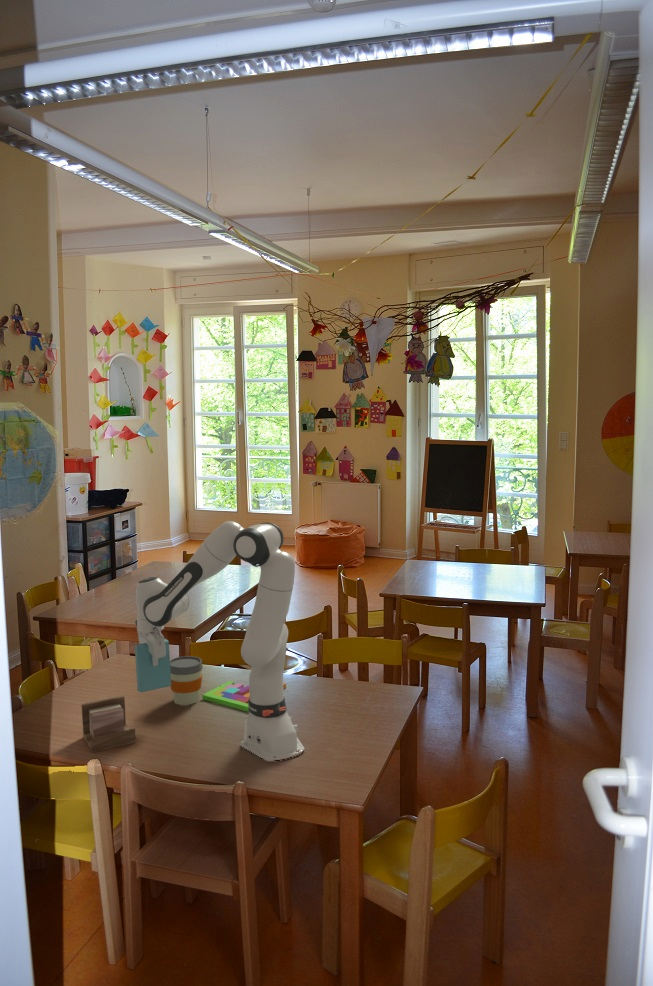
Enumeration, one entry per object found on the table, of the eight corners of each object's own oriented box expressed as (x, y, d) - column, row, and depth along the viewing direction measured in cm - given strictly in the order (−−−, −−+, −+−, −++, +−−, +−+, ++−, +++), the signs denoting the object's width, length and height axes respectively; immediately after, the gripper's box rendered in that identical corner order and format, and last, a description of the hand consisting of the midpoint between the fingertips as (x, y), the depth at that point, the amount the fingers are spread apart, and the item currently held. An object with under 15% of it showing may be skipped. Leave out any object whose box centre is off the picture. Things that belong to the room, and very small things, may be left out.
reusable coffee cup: (184, 691, 295) (183, 653, 293) (210, 697, 289) (209, 659, 287) (162, 703, 285) (160, 664, 283) (188, 709, 278) (187, 670, 276)
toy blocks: (250, 713, 276) (291, 690, 297) (250, 707, 276) (290, 684, 297) (202, 700, 288) (244, 679, 309) (202, 694, 288) (244, 673, 309)
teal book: (171, 685, 267) (168, 641, 265) (139, 692, 262) (137, 647, 260) (168, 683, 270) (166, 639, 268) (137, 689, 265) (134, 644, 263)
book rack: (135, 742, 253) (134, 709, 252) (92, 752, 246) (90, 718, 245) (125, 727, 264) (123, 695, 263) (83, 736, 257) (81, 704, 256)
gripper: (169, 630, 256) (171, 670, 257) (151, 615, 273) (153, 653, 275) (150, 633, 253) (153, 674, 254) (133, 618, 270) (135, 656, 272)
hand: (153, 663), depth 265 cm, fingers closed on teal book, 3 cm apart
